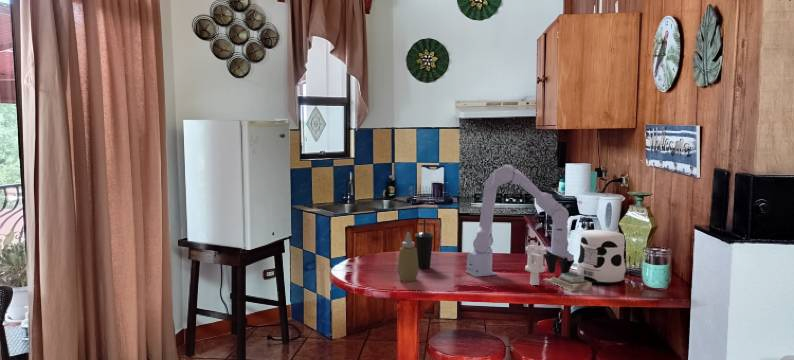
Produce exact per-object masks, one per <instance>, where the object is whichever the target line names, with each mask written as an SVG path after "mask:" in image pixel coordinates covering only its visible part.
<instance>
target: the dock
mask: <svg viewBox="0 0 794 360" xmlns="http://www.w3.org/2000/svg"><path fill="white" fill-rule="evenodd" d="M557 277H558V278H556V277H555V276H552V277H550V279H548V278H542V279H543V281H544V280H545V282H546V281H548V282H547V283H549V282H550V283H549V284H551V285H554V284H555V285H554V286H556V285H558V286H561V287H563V288H565V289H567V290H570V291H576V292H579V291H578V290H584V291H589V290H588V289H592V290H593V282H589V281H586V280H584V282H583V283H575V284H571V283H569V282H567V281H563V280H561V279H560V276H557ZM558 286H557V287H558ZM561 287H560V288H561ZM563 288H562V289H563ZM565 289H564V290H565ZM567 290H566V291H567ZM570 291H569V292H570Z"/></svg>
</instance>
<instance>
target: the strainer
mask: <svg viewBox="0 0 794 360" xmlns="http://www.w3.org/2000/svg"><path fill="white" fill-rule="evenodd" d="M545 247H546V246H543V245H536V244H527V246H525V251H526V252H527V253H526V254H527V264H526V265H525V267H524V270H525V271H526V272H530V275H529V277H530V279H529V280H530V281H529V285H530V284H531V285H530V286H533V285H538V286H539V285H540V273H543V272H546V267H545V266H544V254H545V253H546V248H545Z"/></svg>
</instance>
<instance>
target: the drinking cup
mask: <svg viewBox="0 0 794 360" xmlns="http://www.w3.org/2000/svg"><path fill="white" fill-rule="evenodd" d="M414 236H415V245H416V247H415V248H416V249H417V256H418V267H419V270H420V269H422V270H427V269H430V268H431V261H432V250H433V242H434V236H435V235H434V234H433V233H432V232H429V231H426V218H424V219H423V231H419V232H417V233H415V234H414Z"/></svg>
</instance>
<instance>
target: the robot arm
mask: <svg viewBox="0 0 794 360" xmlns="http://www.w3.org/2000/svg"><path fill="white" fill-rule="evenodd" d="M511 181H512V182H511ZM510 182H511V184H513V185H518V186H520V187H522V188H523V190H525V191H527V193H529V194H530V195H531V196H532V197H533V198H534V199H535V203H536V205H537V206H538V207H539V208H540V209H541V210H543V212H545V213H546V214H547V215H548V216H551V220H552V227H551V239H550V240H551V241H550V242H551V244H550V245H551V246H544V247H545V248H546V252H545V253H544V256H543V258H544V260H545V262H546V265H547V270H548V273H550V274H555V271H556V264H557V260H558V263H559V265H560V274H561V273H566V272H570V270H571V268H572V266H573V265H574V263H575V259H574V257H575V256H574V254H572V253H570V252H569V251H570V250H568V232H569V230H568V229H569V228H568V226H569V225H568V224H569V223H568V221H569V214H570V213H569V211H568V210H567V208H566V207H565V206H563V204H562V203H560V202H558V201H557V200H556V199H554V198H553V195H552V194H551V193H548V192H542V191H541V190H540V189H539V188H538V187H537V186H536V185H535V184H534V183H533V182H532V181H531V180H530V179H529V178H528V177H527V176H526V175H525V174H524V173H522V171H520V170H519V169H516V168H515V167H514V166H513V165H512V164H505V165H502V166H500V167H499V168H496V169H495V170H494V171H493V172H492V174H491V175H490V176H488V178H487V179H486V180H485V182H484V188H483V194H482V204H481V211H480V218H479V226H478V229H477V232H476V237H475V238H474V240H473V242H472V246H473V251H470V252H468V253H467V255H466V270H465V272H466V273H467V274H469V275H471V276H472V277H486V276H495V275H497V272H494V271H493V249H492V247H491V246H492V245H493V243H494V237H493V234H492V233H493V219H494V214H495V213H494V212H495V206H496V196H497V189H498V188H499V187H500V186H502V185H504V184H507V183H510ZM558 257H560V258H561V259H558Z"/></svg>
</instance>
